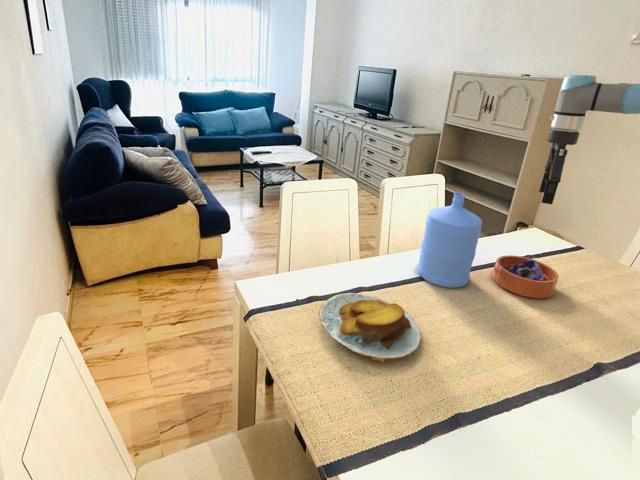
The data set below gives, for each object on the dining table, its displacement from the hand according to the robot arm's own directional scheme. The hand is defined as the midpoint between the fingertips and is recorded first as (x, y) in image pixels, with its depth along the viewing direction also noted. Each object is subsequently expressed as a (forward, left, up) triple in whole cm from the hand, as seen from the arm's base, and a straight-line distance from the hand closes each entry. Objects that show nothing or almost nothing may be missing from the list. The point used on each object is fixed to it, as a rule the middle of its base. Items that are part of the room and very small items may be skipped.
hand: (545, 197), depth 121 cm
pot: (-1, +11, -26) cm, 29 cm away
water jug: (+20, +23, -26) cm, 40 cm away
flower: (-2, +11, -26) cm, 28 cm away
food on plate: (+26, +64, -26) cm, 74 cm away
